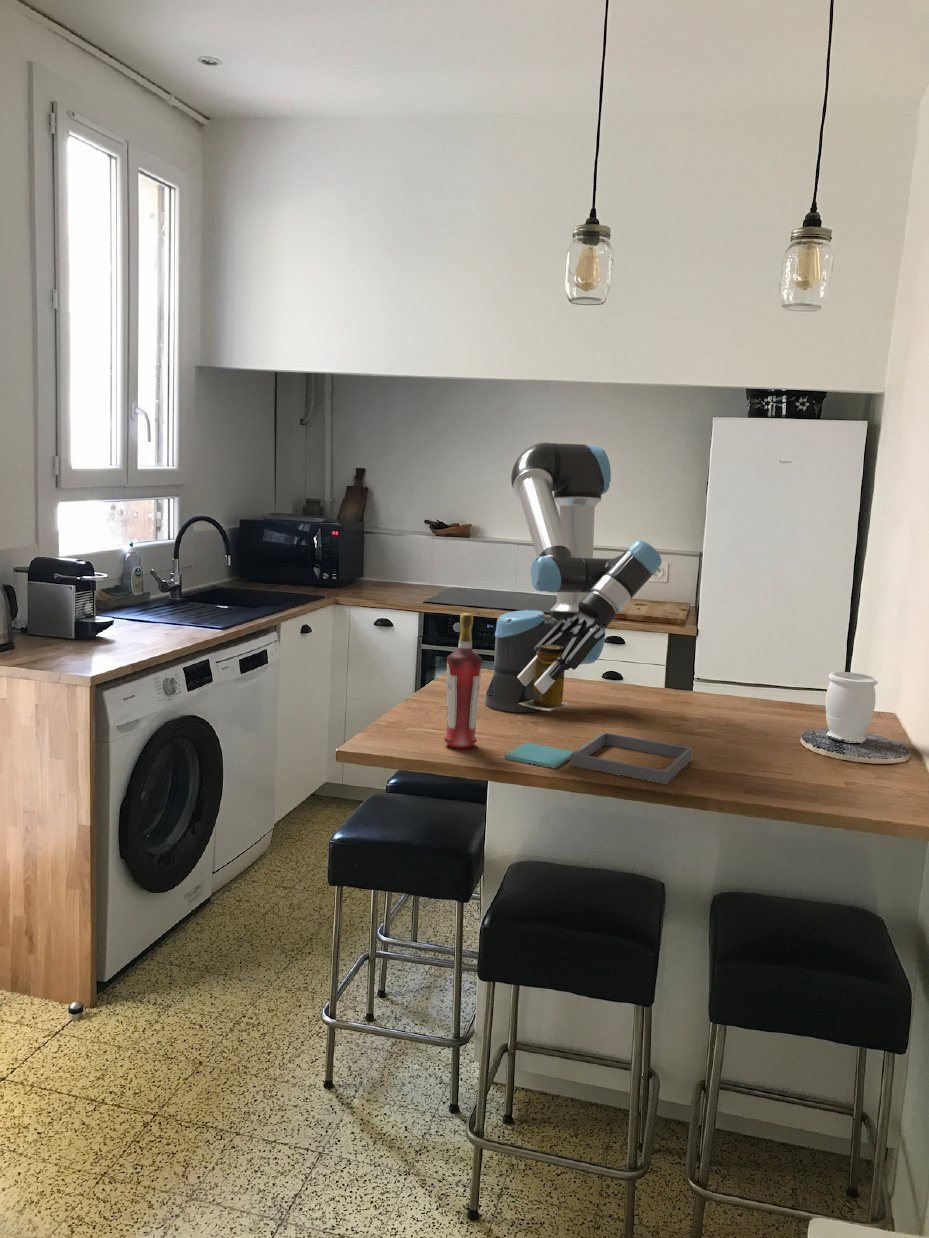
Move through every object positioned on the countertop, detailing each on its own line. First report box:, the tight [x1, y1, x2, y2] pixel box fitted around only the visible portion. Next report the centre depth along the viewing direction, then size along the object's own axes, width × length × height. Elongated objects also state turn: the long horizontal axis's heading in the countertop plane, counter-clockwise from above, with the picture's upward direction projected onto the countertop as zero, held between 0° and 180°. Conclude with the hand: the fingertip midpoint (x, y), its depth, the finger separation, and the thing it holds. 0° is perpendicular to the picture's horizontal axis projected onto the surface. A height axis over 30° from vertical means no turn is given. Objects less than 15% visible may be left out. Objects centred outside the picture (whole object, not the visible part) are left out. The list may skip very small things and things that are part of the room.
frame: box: [569, 731, 694, 785], centre depth 198 cm, size 20×20×2 cm
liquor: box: [443, 613, 483, 750], centre depth 201 cm, size 7×7×28 cm
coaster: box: [504, 742, 575, 769], centre depth 198 cm, size 11×11×1 cm
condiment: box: [519, 644, 571, 712], centre depth 195 cm, size 7×8×12 cm
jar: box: [825, 671, 879, 742], centre depth 223 cm, size 11×10×15 cm
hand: (530, 685), depth 194 cm, fingers closed on condiment, 6 cm apart
